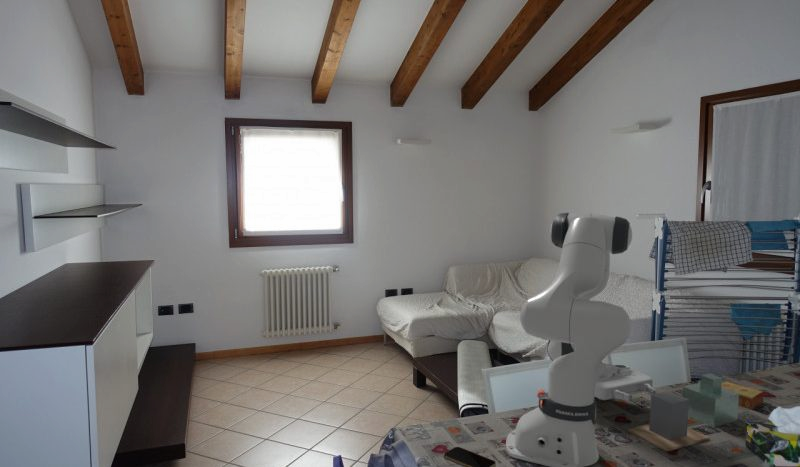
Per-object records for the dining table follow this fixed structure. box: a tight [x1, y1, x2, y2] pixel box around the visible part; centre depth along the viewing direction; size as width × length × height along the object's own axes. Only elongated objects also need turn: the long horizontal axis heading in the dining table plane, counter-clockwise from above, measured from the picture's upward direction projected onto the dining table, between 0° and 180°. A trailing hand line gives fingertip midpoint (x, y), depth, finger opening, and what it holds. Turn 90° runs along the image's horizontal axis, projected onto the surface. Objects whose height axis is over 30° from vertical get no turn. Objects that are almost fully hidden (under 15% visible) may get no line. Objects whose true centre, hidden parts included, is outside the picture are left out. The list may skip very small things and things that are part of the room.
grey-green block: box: [681, 372, 739, 428], centre depth 151 cm, size 10×10×12 cm
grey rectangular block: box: [649, 390, 689, 441], centre depth 139 cm, size 6×6×10 cm
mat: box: [627, 423, 710, 453], centre depth 140 cm, size 16×12×1 cm
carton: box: [697, 379, 765, 410], centre depth 165 cm, size 8×16×4 cm, turn 35°
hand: (642, 395), depth 147 cm, fingers open, 8 cm apart
